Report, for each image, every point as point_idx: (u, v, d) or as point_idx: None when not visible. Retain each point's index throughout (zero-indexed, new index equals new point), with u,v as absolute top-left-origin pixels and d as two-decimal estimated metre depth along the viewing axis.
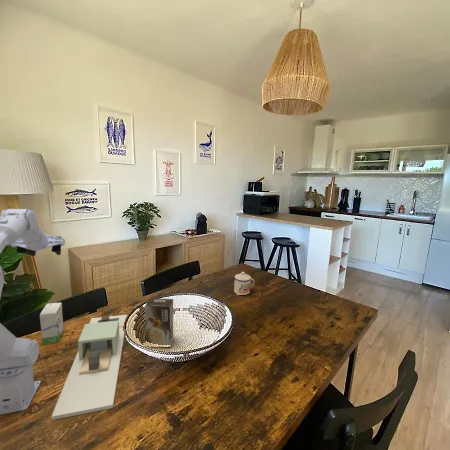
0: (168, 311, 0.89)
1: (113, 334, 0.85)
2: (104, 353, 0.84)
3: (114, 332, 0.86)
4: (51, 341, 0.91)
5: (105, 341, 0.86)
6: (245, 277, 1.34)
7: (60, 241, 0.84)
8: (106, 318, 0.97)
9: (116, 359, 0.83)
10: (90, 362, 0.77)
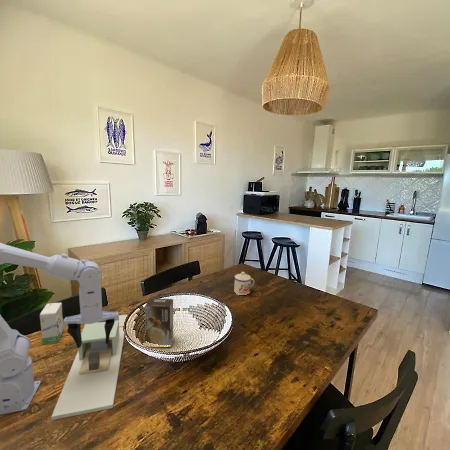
0: (168, 311, 0.89)
1: (113, 334, 0.85)
2: (104, 353, 0.84)
3: (114, 332, 0.86)
4: (51, 341, 0.91)
5: (105, 341, 0.86)
6: (245, 277, 1.34)
7: (115, 314, 0.77)
8: None
9: (116, 359, 0.83)
10: (90, 362, 0.77)
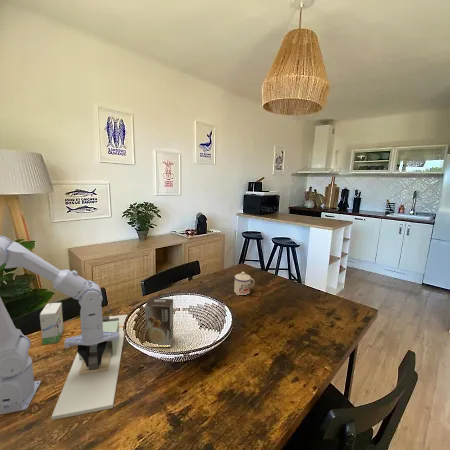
0: (168, 311, 0.89)
1: None
2: (104, 353, 0.84)
3: None
4: (51, 341, 0.91)
5: None
6: (245, 277, 1.34)
7: (115, 335, 0.78)
8: (106, 318, 0.97)
9: (116, 359, 0.83)
10: (90, 362, 0.77)
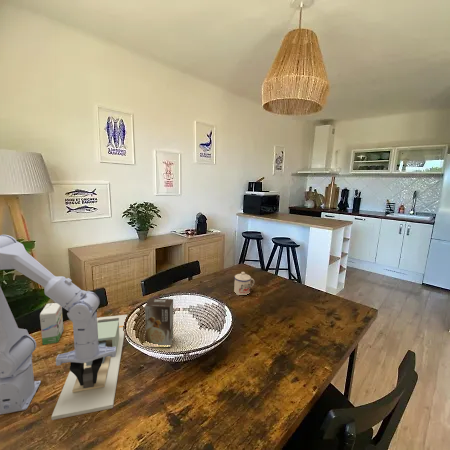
0: (168, 311, 0.89)
1: (113, 334, 0.85)
2: (100, 368, 0.78)
3: (114, 332, 0.86)
4: (51, 341, 0.91)
5: None
6: (245, 277, 1.34)
7: (112, 350, 0.71)
8: None
9: (116, 359, 0.83)
10: (85, 379, 0.70)
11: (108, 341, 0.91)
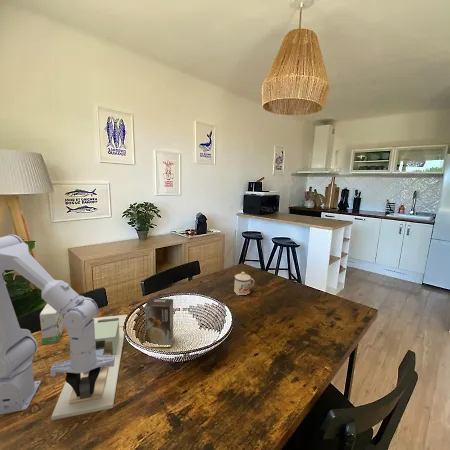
0: (168, 311, 0.89)
1: (113, 334, 0.85)
2: (98, 377, 0.75)
3: (114, 332, 0.86)
4: (51, 341, 0.91)
5: None
6: (245, 277, 1.34)
7: (110, 359, 0.68)
8: None
9: (116, 359, 0.83)
10: (81, 390, 0.67)
11: (107, 347, 0.87)
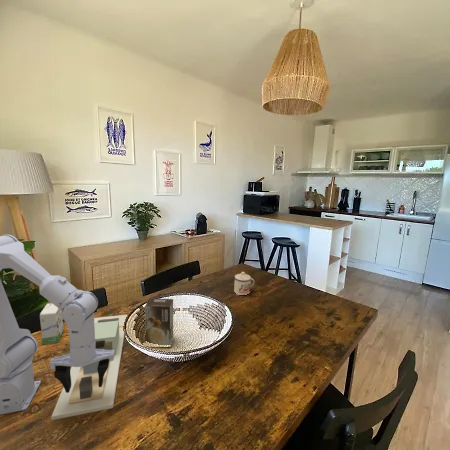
0: (168, 311, 0.89)
1: (113, 334, 0.85)
2: (98, 377, 0.75)
3: (114, 332, 0.86)
4: (51, 341, 0.91)
5: None
6: (245, 277, 1.34)
7: (110, 353, 0.68)
8: None
9: (116, 359, 0.83)
10: (81, 390, 0.67)
11: (107, 347, 0.87)
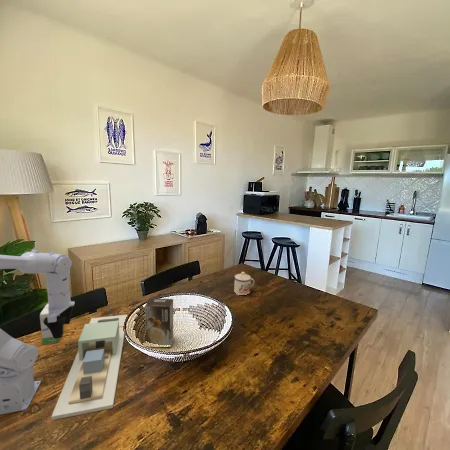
0: (168, 311, 0.89)
1: (113, 334, 0.85)
2: (98, 377, 0.75)
3: (114, 332, 0.86)
4: (51, 341, 0.91)
5: (99, 362, 0.76)
6: (245, 277, 1.34)
7: (51, 315, 0.74)
8: None
9: (116, 359, 0.83)
10: (81, 390, 0.67)
11: (107, 347, 0.87)
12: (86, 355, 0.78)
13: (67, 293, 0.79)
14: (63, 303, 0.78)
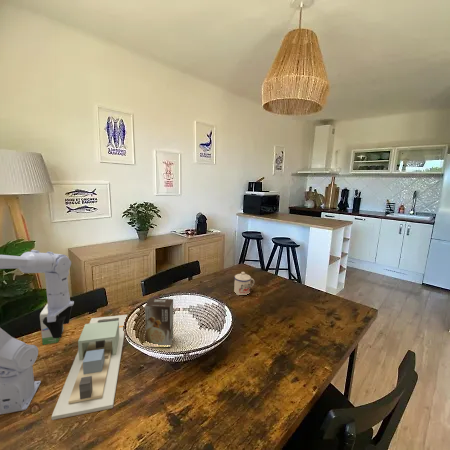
0: (168, 311, 0.89)
1: (113, 334, 0.85)
2: (98, 377, 0.75)
3: (114, 332, 0.86)
4: (51, 341, 0.91)
5: (99, 362, 0.76)
6: (245, 277, 1.34)
7: None
8: None
9: (116, 359, 0.83)
10: (81, 390, 0.67)
11: (107, 347, 0.87)
12: (86, 355, 0.78)
13: (66, 293, 0.79)
14: (62, 303, 0.78)
